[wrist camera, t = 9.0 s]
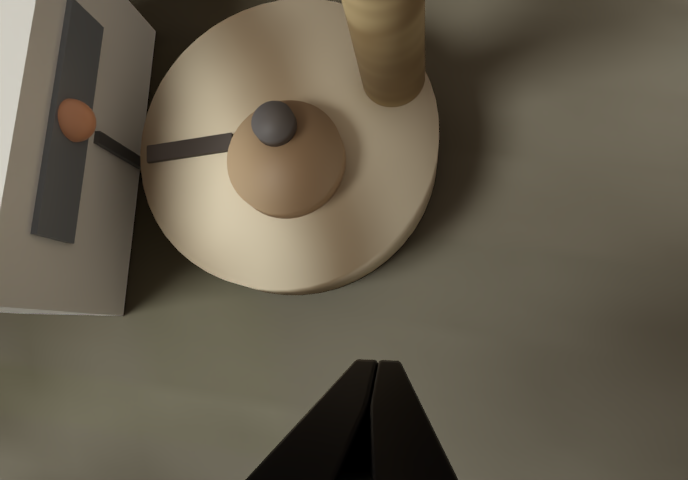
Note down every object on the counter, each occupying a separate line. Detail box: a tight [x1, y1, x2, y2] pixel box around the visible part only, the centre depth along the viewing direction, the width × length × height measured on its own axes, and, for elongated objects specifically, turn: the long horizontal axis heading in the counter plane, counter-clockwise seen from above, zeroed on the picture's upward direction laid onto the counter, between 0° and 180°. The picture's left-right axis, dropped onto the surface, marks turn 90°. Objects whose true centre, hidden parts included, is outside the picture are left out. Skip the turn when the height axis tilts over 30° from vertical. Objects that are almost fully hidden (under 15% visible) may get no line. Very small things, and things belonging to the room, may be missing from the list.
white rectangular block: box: [0, 0, 156, 316], centre depth 20 cm, size 14×6×7 cm, turn 179°
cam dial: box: [140, 0, 439, 295], centre depth 16 cm, size 12×12×12 cm
